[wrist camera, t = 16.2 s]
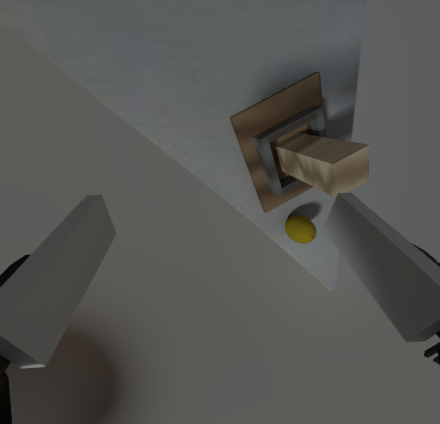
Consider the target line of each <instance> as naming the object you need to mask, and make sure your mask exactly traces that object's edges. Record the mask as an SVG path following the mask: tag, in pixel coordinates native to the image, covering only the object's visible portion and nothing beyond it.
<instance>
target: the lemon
mask: <svg viewBox="0 0 440 424" xmlns="http://www.w3.org/2000/svg"><path fill="white" fill-rule="evenodd" d="M285 230H286V233H287V234H288V236H289V237H290V238H291V239H293V240H294V241H296V242H298V243H302V244H305V243H309V242H311V241H312V240H313V239H314V238H315V236H316V228H315V226H314V224H313V223H312V222H311V221H310V220H309V219H308V218H306V217H304V216H302V215H294V216H291V217H290V218H289V219H288V220H287V221H286V223H285Z"/></svg>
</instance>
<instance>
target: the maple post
mask: <svg viewBox="0 0 440 424" xmlns="http://www.w3.org/2000/svg"><path fill="white" fill-rule="evenodd" d="M273 147H274V151H275V154H276V158H277V162H278V166H279V169H280V170H281V171H283V172H285V173H287V174H289V175H291V176H293V177H295V178H297V179H299V180H301V181H303V182H305V183H307V184H309V185H311V186H313V187H315V188H317V189H319V190H321V191H323V192H325V193H327V194H329V195H331V196H334V197H337V195H338V193H346V192H348V191H350V190H352V189H353V188H355V187H357V186H359V185H361V184H362V183H364V182H366V181H368V180H369V145H367V144H361V143H355V142H350V141H344V140H338V139H332V138H326V137H320V136H314V135H308V134H302V133H296V134H294V135H292V136H290V137H288V138H287V139H285V140H283V141H281V142H279V143H277V144H275V145H274V146H273Z"/></svg>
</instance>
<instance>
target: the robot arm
mask: <svg viewBox="0 0 440 424" xmlns="http://www.w3.org/2000/svg"><path fill="white" fill-rule="evenodd" d="M322 229H323V231H324V232H325V233H326V235H327V236H328V238H329V239H330V240H331V242H332V243H333V244H334V246H335V247H336V248H337V250H338V251H339V252H340V254H341V255H342V256H343V258H344V259H345V260H346V262H347V263H348V264H349V266H350V267H351V268H352V270H353V271H354V273H355V274H356V275H357V277H358V278H359V279H360V281H361V282H362V283H363V285H364V286H365V287H366V289H367V290H368V291H369V293H370V294H371V295H372V297H373V298H374V299H375V300H376V302H377V304H378V305H379V306H380V308H381V309H382V310H383V312H384V313H385V314H386V315H387V317H388V318H389V320H390V321H391V322H392V324H393V325H394V326H395V328H396V329H397V330H398V332H399V333H400V334H401V336H402V337H403V338H404V340H405V341H406V342H419V341H426V340H427V339H429V338H430V337H432V336H433V335H435V334H437V335H438V337H439V338H440V263H437V261H436V260H435V259H434V258H433V257H432V256H430V255H429V254H428V253H427V252H426V251H424V250H423V249H421V248H419V247H417V246H416V245H414V244H412V243H410V242H409V241H408V240H407V239H405V238H404V237H403V236H402V235H401V234H400V233H398V232H397V231H396V230H395V229H394V228H392V227H391V226H390V225H389V224H388V223H386V222H385V221H384V220H383V219H382V218H380V217H379V216H378V215H377V214H376V213H375V212H373V211H372V210H371V209H370V208H368V207H367V206H366V205H365V204H364V203H363V202H361V201H360V200H359V199H358V198H357V197H355V196H354V195H353V194H352V193H338V195H337V197H336V199H335V201H334V204H333V206H332V208H331V210H330V213H329V215H328V217H327V219H326V222H325V224H324V226H323V228H322ZM115 236H116V231H115V229H114V226H113V223H112V221H111V218H110V216H109V213H108V210H107V208H106V205H105V203H104V200H103V197H102V195H87V196H86V197H85V198H84V199H83V200H82V201H81V202H80V203H79V204H78V205H77V206H76V207H75V208H74V209H73V211H72V212H71V213H70V214H69V215H68V216H67V217H66V218H65V219H64V220H63V221H62V222H61V223H60V225H58V227H57V228H56V229H55V230H54V231H53V232H52V233H51V234H50V235H49V236H48V237H47V238H46V240H44V241H43V243H42V244H41V245H40V246H39V247H38V248H37V249H36V250H35V251H34V252H33V253H32V254H31V255H25V256H23V257H22V258H20V259H19V260H17V261H16V262H14V263H13V264H11V265H10V266H9V267H8V268H7V269H6V270H5V271H4V272H3V273H2V274H1V275H0V424H12V415H11V404H10V391H9V380H8V376H7V374H6V373H5V370H6V369H7V367H8V366H9V364H10V363H11V362H12V363H14V364H15V365H17V366H19V367H20V368H34V367H46V365H47V363H48V361H49V359H50V357H51V356H52V354H53V352H54V350H55V348H56V346H57V344H58V342H59V340H60V338H61V337H62V335H63V333H64V331H65V329H66V327H67V325H68V324H69V322H70V320H71V318H72V316H73V314H74V313H75V310H76V309H77V307H78V305H79V303H80V301H81V299H82V297H83V296H84V294H85V292H86V290H87V288H88V286H89V284H90V282H91V281H92V279H93V277H94V275H95V273H96V271H97V269H98V267H99V266H100V264H101V262H102V260H103V258H104V256H105V254H106V253H107V251H108V249H109V247H110V245H111V243H112V241H113V239H114V238H115ZM435 353H438V356H437V357H436V358H434V359H433V361H434V362H436V363H438V364H440V342H439V343H437V344H436V345H434V346H432V347H431V348H429V349H428V350H426V351H425V353H424V356H425V357H430V356H432V355H433V354H435Z"/></svg>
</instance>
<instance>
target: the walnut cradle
mask: <svg viewBox="0 0 440 424" xmlns="http://www.w3.org/2000/svg"><path fill="white" fill-rule="evenodd" d="M230 120H231V123H232V126H233V128H234V131H235V134H236V137H237V139H238V142H239V145H240V148H241V150H242V153H243V156H244V159H245V161H246V164H247V167H248V170H249V172H250V175H251V178H252V181H253V183H254V186H255V189H256V192H257V194H258V197H259V200H260V203H261V205H262V208H263V211H264V212H265V213H266V212H268V211H270V210H272V209H274V208H275V207H277V206H279V205H281V204H283V203H284V202H286V201H288V200H290V199H292V198H294V197H295V196H297V195H299V194H301V193H303V192H304V191H306V190H308V189H310V188H312V187H313V186H311V185H309V184H307V183H305V182H303V181H301V180H299V179H297V178H295V177H293V176H291V175H289V174H287V173H285V172H283V171H281V170H280V169H279V166H278V162H277V158H276V154H275V151H274V147H273V146H274V145H275V144H277V143H279V142H281V141H283V140H285V139H287V138H288V137H290V136H292V135H294V134H296V133H302V134H308V135H314V136H320V137H326V130H325V121H324V112H323V106H322V98H321V90H320V81H319V72H316V73H313V74H311V75H309V76H308V77H306V78H304V79H302V80H300V81H298V82H296V83H294V84H292V85H291V86H289V87H287V88H285V89H283V90H281V91H279V92H277V93H275V94H274V95H272V96H270V97H268V98H266V99H264V100H262V101H260V102H258V103H257V104H255V105H253V106H251V107H249V108H247V109H245V110H243V111H241V112H240V113H238V114H236V115H234V116H232V117H230Z"/></svg>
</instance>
